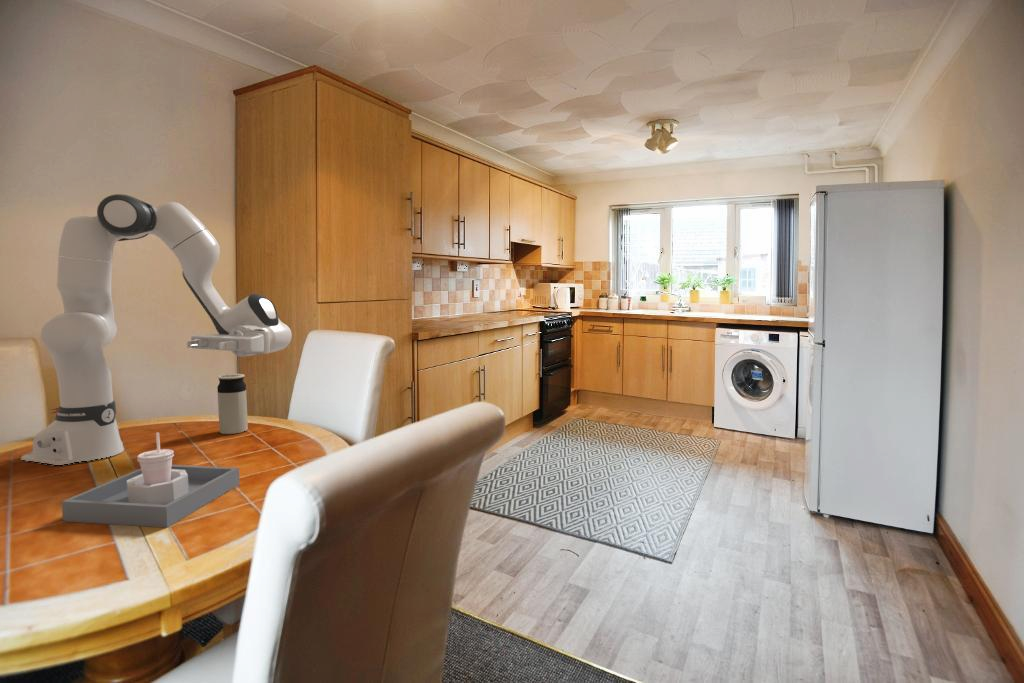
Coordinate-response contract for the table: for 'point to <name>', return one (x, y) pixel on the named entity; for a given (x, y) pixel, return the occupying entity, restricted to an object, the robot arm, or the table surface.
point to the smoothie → (156, 464)
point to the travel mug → (232, 404)
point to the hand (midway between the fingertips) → (203, 345)
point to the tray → (149, 513)
